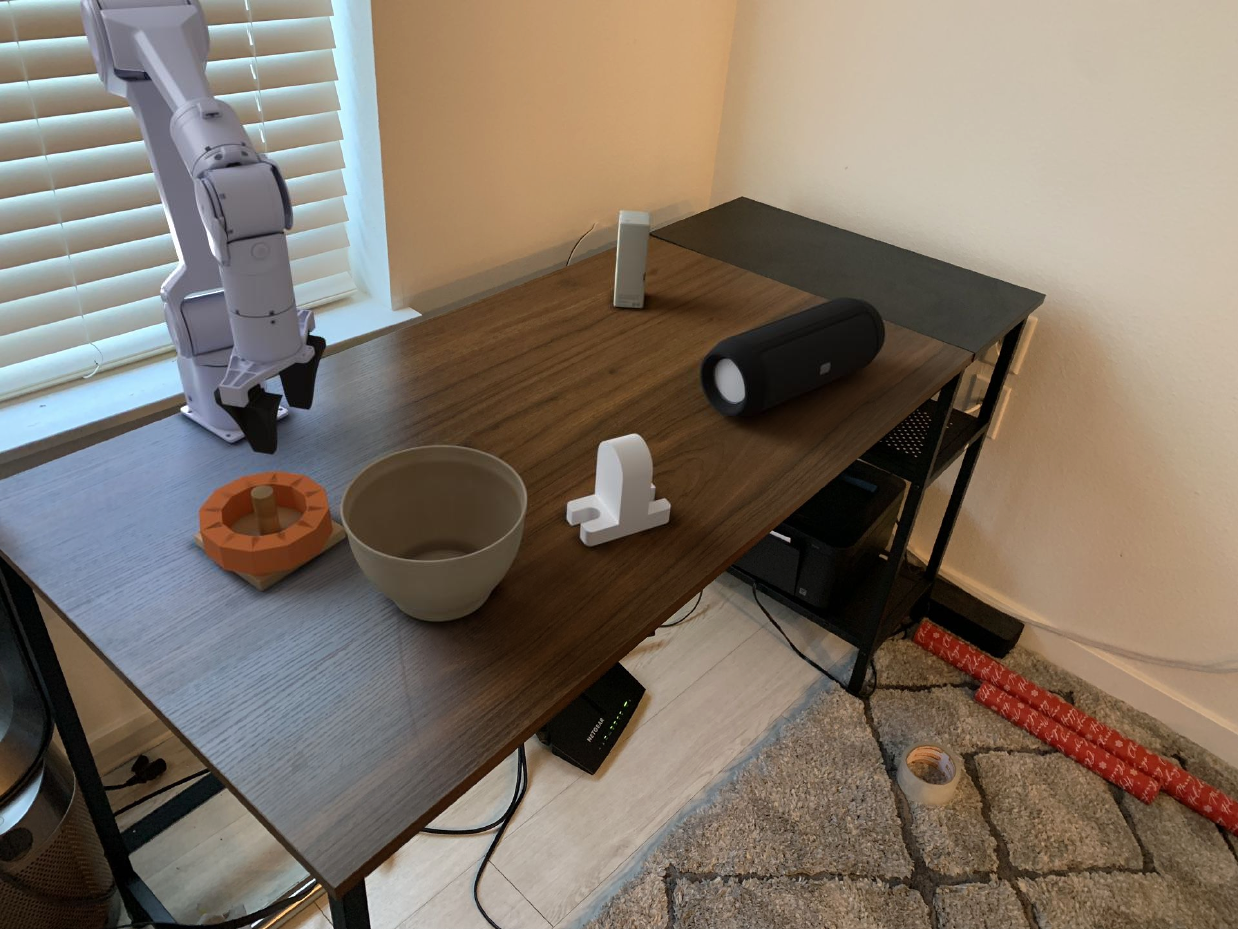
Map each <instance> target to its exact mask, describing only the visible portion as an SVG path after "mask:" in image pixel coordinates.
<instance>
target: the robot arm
mask: <svg viewBox="0 0 1238 929" xmlns="http://www.w3.org/2000/svg"><path fill="white" fill-rule="evenodd" d="M79 9H80V17H81V21H82V26H83V29H84V32H85V33H84V34H85V36H86V40H87V43H88V46H89V49H90V52H91V56H92V59H93V61H94V65H95V68H96V71H97V72H96V73H97V75H98V78H99V80H100V82H102V83H103V86H104V89H105V91H106V92H107V93H110V94H112V95H116V96H119V97H122V98H124V99H126V101H127V103H128V104H129V106H130V108H131V110H132V112H133V114H134V115H135V117H136V119H137V122H138V126H139V128H140V132H141V135H142V140H143V142H144V146H145V149H146V152H147V155H148V159H149V162H150V167H151V170H152V172H153V176H154V179H155V183H156V186H157V190H158V193H159V197H160V199H161V203H162V206H163V210H164V213H165V217H166V220H167V223H168V227H169V231H170V234H171V237H172V240H173V244H174V247H175V250H176V254H177V258H178V260H179V264H178V266H177V267H176V269H175V270H174V271H173V272H172V273H171V274H170V275H169V276H168V277H167V279H166V280H165V281H164V282H163V283H162V285H161V289H160V292H159V293H160V294H159V296H160V300H161V303H162V307H163V315H164V320H165V324H166V328H167V331H168V334H169V337H170V339H171V342H172V344H173V347H174V349H175V351H176V352H177V357H176V365H177V370H178V374H179V378H180V383H181V386H182V390H183V394H184V399H185V402H186V405H184V406H182V407H181V408H180V409H179V410H180V413H181V414H182V415H184V416H185V417H187V418H189V419H190V420H192V421H194V422H196V424H199V425H200V426H201V427H204V428H205V429H207V430H208V431H210V432H211V433H213V434H214V435H216V436H217V437H219V438H221V439H223V440H224V441H226V442H227V443H231V444H232V443H235V442H237V441H239V440H241V439H243V438H245V439H246V440H247V443H248V444H249V446H250V447H251V449H252V451H253V452H254V453H259V454H266V455H274V454H276V452H277V450H278V444H279V441H278V440H279V439H278V438H279V437H278V421H279V420H280V419H282V418H284V417H287V416H288V415H289V409H287V408H286V407H283V406H281V403H282V399H283V397H285V400H286V402H287V404H288V406H289V408H293V409H298V410H299V409H301V410H306V411H310V409H311V408H312V406H313V402H314V393H315V384H316V379H317V373H318V370H319V369H318V368H319V365H320V362H321V360H322V357H323V355H324V352H325V350H326V348H327V340H326V338H324V337H323V336H319V335H313V334H311V333H312V332H314V330H315V329H316V328H317V327H316V321H315V320H316V319H315V315H314V314H315V313H314V310H312V309H304V308H299V307H297V301H296V294H295V289H294V283H293V281H294V280H293V275H292V267H291V261H290V254H289V248H288V241H287V234H286V232H285V231H284V230H286V231H291V230H292V228H293V226H294V212H293V211H294V209H293V204H292V199H291V194H290V191H289V188H288V185H287V182H286V179H285V177H284V175H283V172H282V171H281V169H280V167H279V165H278V164H277V162H276V161H275V160H274V159H272V158H269V157H268V156H267V154H266V153H259V152H258V150H257V149H256V147H255V146H254V143H253V142H252V139H251V138H250V136H249V134H248V132H247V130H246V129H245V127H244V125H243V123H242V120H240V117H239V115H238V113H237V112H236V110H235V109H234V108H233V107H232V106H231V105H230V104H229V103H227V102H226V101H223V100H221V99H218V98H215V96H214V93H213V90H212V88H211V85H210V83H209V81H208V77H207V75H206V69H207V65H208V59H209V55H210V52H211V38H210V31H209V26H208V21H207V18H206V15H205V11H204V8H203V6H202V4H201V2H200V0H80V3H79ZM216 289H222V290H219V291H213V292H209V293H204V294H199V295H193V294H197V293H201V292H207V291H211V290H216ZM190 295H193V296H190ZM188 296H189V297H188ZM276 374H278V375H279V379H280V383H281V386H282V390H283V394H284V395H283V394H279V393H275V392H269V387H268V381H267V380H268V379H270V378H271V377H272V376H274V375H276Z"/></svg>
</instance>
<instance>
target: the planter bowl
mask: <svg viewBox="0 0 1238 929" xmlns="http://www.w3.org/2000/svg"><path fill="white" fill-rule="evenodd" d="M339 509H340V510H339V512H340V517H341V523H342V527H344V529H345V533H346V536H347V539H348V542H349V546H350V548H351V551H352V554H353V556H354V559H355V560H356V562H357V564H358V566H359V568H360V569H361V570H362V572H363V573H364V575H365V576H366V577H367V579H368V580H369V581H370V582H371V583H372V585H373V586H374V587H375V588H376V589H377V590H378V591H380V592H381V594H383V595H384V596H385V597H386V598H388V599H389V600H391V601H392V602H394V605H395V606H396V607H397V608H398V609H399V610H400V611H402V612H403V613H405V614H406V615H408V616H410V617H412V618H414V619H417V620H421V621H426V622H448V621H453V620H458V619H461V618H463V617H466V616H468V615H470V614H472V613H473V612H475V611H477V610H478V609H479V608H481V606H483V605H484V604H485V602H486V601H487V600H488V598H489V597H490V595H491V593H492V591H493V590H494V589H495V588H496V587H497V586H498V585H499V583H500V582H502V580H503V578H504V577H505V576H506V575H507V573H508V571H509V569H510V568H511V566H512V564H513V563H514V561H515V558H516V556H517V553H518V551H519V548H520V545H521V542H522V538H523V532H524V524H525V518H526V515H527V511H528V510H527V509H528V492H527V488H526V485H525V483H524V481H523V479H522V478H521V476H520V474H518V472H517V471H516V470H515V469H514V468H513V467H512V466H510V464H508V463H507V462H505V461H504V460H502V459H500V458H499V457H497V456H495V455H492V454H490V453H488V452H484V451H482V450H478V449H475V448H471V447H466V446H460V445H449V444H430V445H424V446H415V447H411V448H406V449H402V450H399V451H396V452H391V453H390V454H387V455H384V456H383V457H381V458H378V459H377V460H375V461H373V462H372V463H369V465H367V466H365V467H364V468H363V469H362V470H360V471H359V473H357V474H356V475H355V476H354V477H353V479H352V480H350V482H349V484H348V485H347V487H346V488H345V491H344V492H343V494H342V497H341V501H340V508H339Z"/></svg>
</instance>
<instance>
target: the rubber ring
mask: <svg viewBox="0 0 1238 929" xmlns="http://www.w3.org/2000/svg"><path fill="white" fill-rule="evenodd" d="M262 485H266V486H270V487H271V488H272V489H273V492H274V497H275V502H276V507H283V508H289V509H296V510H297V511H299V512H300V513H302V514H303V516H302V517H301V519H300V520H299V522H298V523H296V524H294V525H292V526H291V527H289V528H287V529H285V530H283V531H282V532H280V533H275V534H270V535H264V536H258V537H254V536H248V535H241V534H235V533H234V532H233V531H232V530H230V529H231V527H232V526H233V525H234V523H235V522H236V521H237V520H238V519H239V518H241V517H243V516H245V515H247V514H249V513H251V512H253V511H254V506H253V502H252V497H251V491H252V490H253V489H254V488H256V487H258V486H262ZM329 504H330V503H329V500H328V496H327V491H326V488H325V487H323V486H322V485H321V484H319V483H317V482H316V481H314V480H313V479H312V478H310V477H309V476H308V475H306V474H305V475H304V474H299V473H292V472H287V471H286V472H285V471H279V470H273V471H267V472H261V473H260V472H259V473H256V474H255V473H254V474H248V475H247V474H246V475H243V476H240V477H239V478H237V479H235V480H232V481H230V482H229V483H227V484H225V485H222V486H221V487H218V488H217V489H215V490H214V491H213V492H212V493H211V494H210V496H209V497H208V498H207V499H206V501H205V502H204V503H203V504H202V506H201V507H200V508H199V509H198V519H199V522H198V523H199V532H200V533H201V537H202V540H203V544H204V548H205V550H204V552H205V555H206V556H207V557H209V558H210V559H211V560H213V562H215V563H216V564H217V565H218V566H219V567H221V568H222V569H223V570H225V571H228V572H233V573H235V572H240V573H246V574H252V575H262V574H267V573H273V572H278V571H283V570H288V569H293V568H295V567H296V566H298V565H300V564H301V563H303V562H305V561H306V560H308V559H310V558H311V557H313V556H315V555H316V554H318V553H320V551H321V550H322V548H323V546H324V545H325V543H326V542H327V540H328V538H329V537H330V535H331V533H332V532H333V529H332V522H331V520H332V517H331V510H330V505H329Z"/></svg>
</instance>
